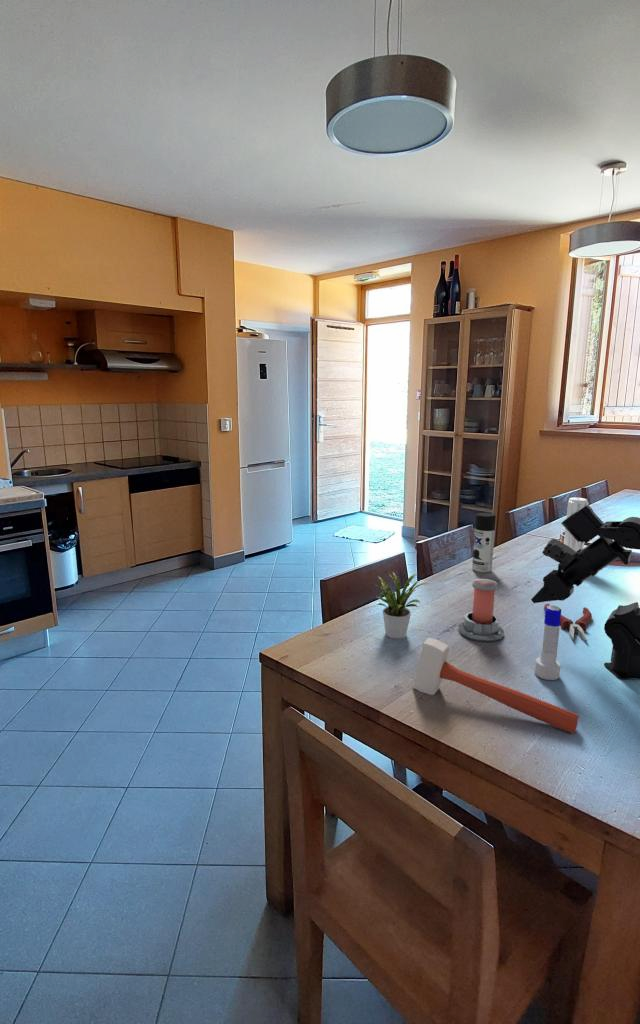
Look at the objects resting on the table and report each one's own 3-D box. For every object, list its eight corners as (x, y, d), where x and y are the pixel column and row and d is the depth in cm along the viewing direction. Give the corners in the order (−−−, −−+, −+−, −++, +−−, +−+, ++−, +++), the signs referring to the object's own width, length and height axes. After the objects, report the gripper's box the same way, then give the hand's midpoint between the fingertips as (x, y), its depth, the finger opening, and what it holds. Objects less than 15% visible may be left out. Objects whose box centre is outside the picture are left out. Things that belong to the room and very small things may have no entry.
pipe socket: (510, 641, 132) (511, 626, 131) (465, 642, 132) (466, 627, 131) (494, 622, 143) (495, 609, 142) (453, 623, 143) (453, 609, 142)
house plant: (431, 626, 141) (434, 567, 138) (427, 649, 128) (430, 585, 125) (377, 620, 145) (379, 562, 141) (368, 642, 132) (370, 579, 128)
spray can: (467, 568, 188) (471, 513, 184) (482, 566, 191) (486, 511, 187) (480, 574, 182) (484, 517, 178) (496, 571, 185) (500, 515, 181)
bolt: (532, 677, 116) (536, 667, 120) (557, 683, 113) (560, 673, 117) (539, 609, 112) (542, 601, 116) (565, 614, 110) (567, 606, 114)
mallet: (585, 698, 96) (427, 635, 111) (583, 707, 93) (421, 641, 108) (569, 747, 99) (417, 679, 114) (566, 758, 96) (411, 687, 111)
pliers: (553, 642, 133) (554, 631, 133) (542, 610, 153) (543, 601, 152) (606, 648, 130) (607, 638, 129) (588, 615, 150) (589, 606, 149)
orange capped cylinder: (497, 633, 134) (501, 586, 132) (473, 634, 134) (477, 587, 131) (489, 623, 140) (492, 578, 138) (466, 624, 140) (469, 579, 137)
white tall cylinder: (562, 569, 188) (569, 499, 183) (560, 563, 194) (567, 496, 189) (582, 571, 186) (590, 500, 181) (579, 565, 192) (587, 497, 187)
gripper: (577, 522, 127) (527, 559, 136) (556, 538, 113) (502, 578, 122) (611, 559, 124) (557, 594, 133) (594, 580, 110) (535, 618, 119)
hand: (538, 595), depth 127 cm, fingers open, 9 cm apart
